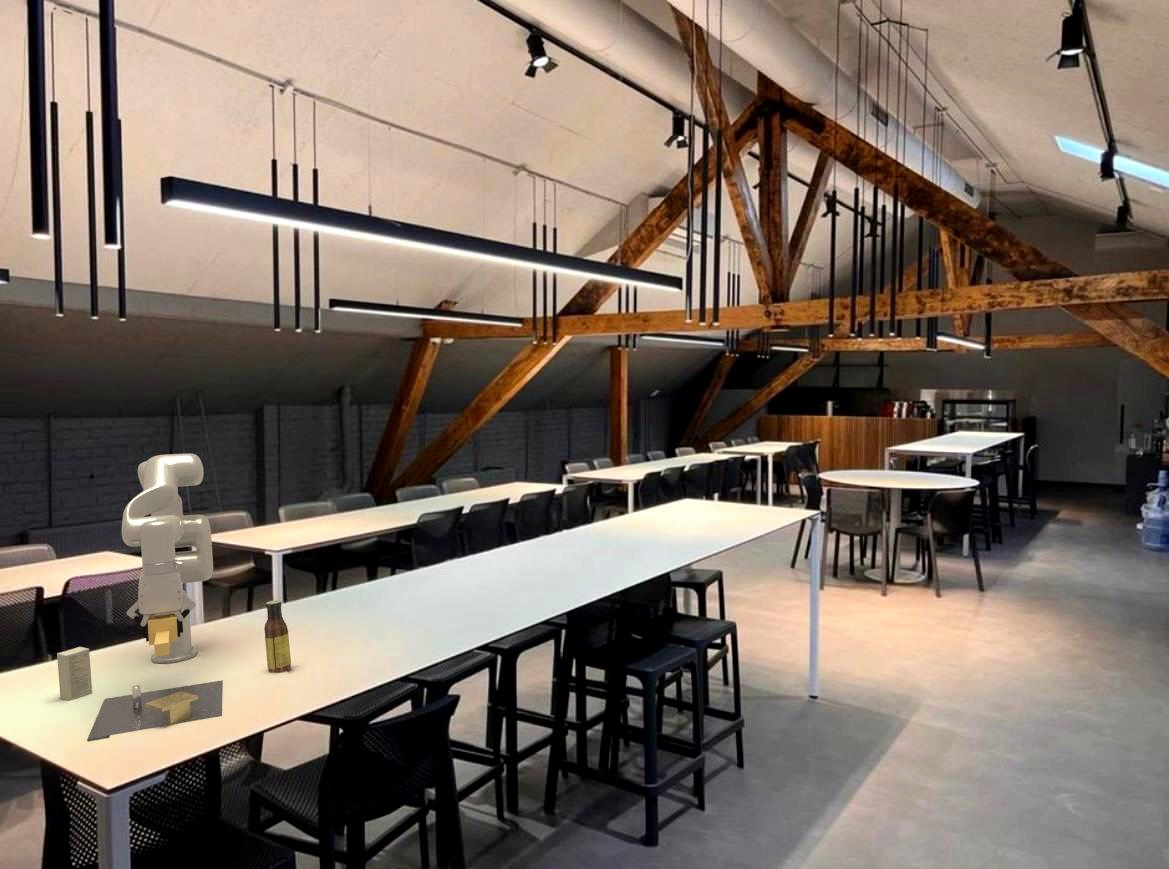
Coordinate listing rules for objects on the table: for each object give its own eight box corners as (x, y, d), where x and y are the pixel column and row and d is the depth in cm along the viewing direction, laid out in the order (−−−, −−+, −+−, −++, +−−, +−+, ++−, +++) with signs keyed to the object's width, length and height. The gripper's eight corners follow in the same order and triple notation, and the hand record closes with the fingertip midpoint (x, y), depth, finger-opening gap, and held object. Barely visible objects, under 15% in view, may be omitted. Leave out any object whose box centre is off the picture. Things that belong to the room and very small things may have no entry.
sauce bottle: (294, 666, 232) (290, 598, 231) (287, 674, 226) (283, 603, 225) (271, 667, 232) (267, 599, 231) (263, 675, 225) (259, 604, 224)
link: (150, 638, 208) (148, 615, 208) (178, 634, 211) (176, 612, 211) (146, 658, 192) (145, 633, 192) (177, 653, 195) (175, 629, 194)
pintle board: (104, 700, 210) (103, 678, 210) (222, 682, 221) (221, 661, 221) (86, 743, 183) (85, 718, 183) (222, 719, 194) (220, 696, 194)
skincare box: (83, 690, 218) (80, 646, 217) (93, 693, 216) (90, 648, 215) (59, 698, 212) (56, 653, 212) (68, 701, 210) (65, 655, 210)
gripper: (197, 561, 213) (200, 629, 214) (121, 570, 205) (125, 639, 206) (197, 566, 206) (201, 636, 207) (119, 575, 199) (123, 647, 200)
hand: (163, 637), depth 207 cm, fingers closed on link, 6 cm apart
